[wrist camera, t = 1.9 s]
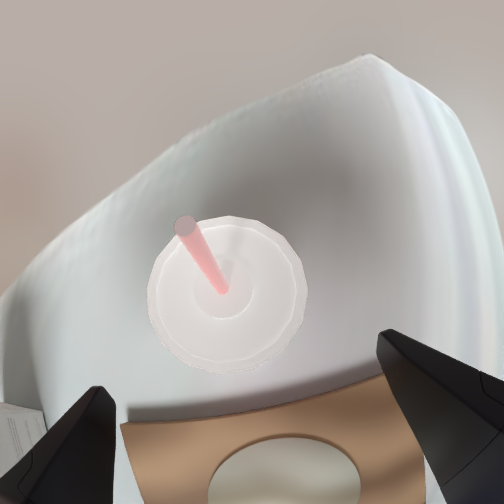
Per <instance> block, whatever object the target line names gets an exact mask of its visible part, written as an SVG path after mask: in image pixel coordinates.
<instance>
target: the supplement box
mask: <svg viewBox="0 0 504 504" xmlns="http://www.w3.org/2000/svg"><path fill="white" fill-rule="evenodd" d="M46 433H47V431H46V426H45V422H44V417H43V412H42V411H39V410H34V409H29V408H25V407H20V406H16V405H12V404H8V403H4V402H0V478H1V477H2V476H3V475H4V474H5V473H6V472H8V471H9V470H10V469H11V468H12V467H13V466H14V465H15V464H16V463H18V462H19V461H20V460H21V459H22V458H23V457H24V456H25V455H26V454H27V453H28V451H29V450H30V449H31V448H33V446H34V445H35V444H36V443H37V442H38V441H39V440H40V439H41V438H42V437H43V436H44V435H45V434H46Z"/></svg>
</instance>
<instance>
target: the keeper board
mask: <svg viewBox="0 0 504 504" xmlns="http://www.w3.org/2000/svg"><path fill="white" fill-rule="evenodd" d="M120 428H121V432H122V436H123V440H124V444H125V447H126V451H127V454H128V457H129V461H130V464H131V467H132V470H133V473H134V476H135V479H136V482H137V485H138V488H139V490H140V493H141V496H142V498H143V501H144V503H145V504H426V490H425V469H424V457H423V451H422V449H421V447H420V445H419V443H418V441H417V439H416V437H415V436H414V434H413V432H412V430H411V428H410V426H409V424H408V422H407V420H406V418H405V416H404V415H403V413H402V411H401V409H400V407H399V405H398V403H397V402H396V400H395V398H394V396H393V394H392V391H391V389H390V387H389V384H388V382H387V379H386V377H385V374H384V373H382V374H379V375H376V376H374V377H371V378H368V379H366V380H363V381H360V382H357V383H354V384H351V385H348V386H345V387H342V388H339V389H336V390H333V391H330V392H326V393H323V394H319V395H316V396H312V397H309V398H305V399H301V400H297V401H293V402H289V403H285V404H281V405H276V406H272V407H267V408H262V409H257V410H252V411H246V412H240V413H234V414H228V415H221V416H213V417H205V418H196V419H185V420H173V421H154V422H126V423H123V424H120Z"/></svg>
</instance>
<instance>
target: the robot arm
mask: <svg viewBox="0 0 504 504" xmlns="http://www.w3.org/2000/svg"><path fill="white" fill-rule="evenodd" d="M376 354H377V358H378V360H379V362H380V365H381V367H382V369H383V372H384V374H385V377H386V379H387V382H388V384H389V387H390V389H391V391H392V394H393V396H394V398H395V400H396V402H397V403H398V405H399V407H400V409H401V411H402V413H403V415H404V416H405V418H406V420H407V422H408V424H409V426H410V428H411V430H412V432H413V434H414V436H415V437H416V439H417V441H418V443H419V445H420V447H421V449H422V451H423V453H424V455H425V457H426V459H427V461H428V463H429V465H430V468H431V470H432V472H433V474H434V476H435V478H436V480H437V482H438V485H439V487H440V489H441V491H442V494H443V496H444V498H445V500H446V503H447V504H504V381H503V380H500V379H498V378H495V377H493V376H491V375H488V374H486V373H484V372H482V371H479V370H478V369H475V368H473V367H471V366H469V365H467V364H465V363H463V362H460V361H458V360H456V359H454V358H452V357H450V356H448V355H446V354H444V353H441V352H439V351H437V350H435V349H433V348H431V347H429V346H427V345H425V344H422V343H420V342H418V341H416V340H414V339H412V338H410V337H408V336H406V335H404V334H402V333H399V332H397V331H395V330H393V329H387V330H384V331H382V332H380V333H379V334H378V341H377V349H376ZM115 449H116V404H115V401H114V400H113V398H112V397H111V396H110V394H109V393H108V392H107V391H106V389H105V388H104V387H103V386H92V387H91V388H90V389H89V390H88V391H87V392H86V393H85V394H84V395H83V396H82V397H81V398H80V399H79V400H78V401H77V402H76V403H75V404H74V405H73V406H72V407H71V408H70V409H69V410H68V411H67V412H66V413H65V414H64V415H63V416H62V417H61V418H60V419H59V420H58V421H57V422H56V423H55V424H54V425H53V426H52V427H51V428H50V429H49V430H48V432H47V433H46V434H45V435H44V436H43V437H42V438H41V439H40V440H39V441H38V442H37V443H36V444H35V445H34V446H33V448H31V449H30V450H29V451H28V453H27V454H26V455H25V456H24V457H23V458H22V459H21V460H20V461H19V462H18V463H16V464H15V465H14V466H13V467H12V468H11V469H10V470H9V471H8V472H6V473H5V474H4V475H3V476H2V477H1V478H0V504H113V480H114V462H115Z"/></svg>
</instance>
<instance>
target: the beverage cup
mask: <svg viewBox="0 0 504 504" xmlns="http://www.w3.org/2000/svg"><path fill="white" fill-rule="evenodd" d="M174 231H175V233H176V234H177V235H175V236H174V237H173V238H172V240H171V241H170V242H169V243H168V245H167V246H166V247H165V248H164V249H163V251H162V252H161V253H160V254H159V256H158V257H157V258H156V260H155V263H154V266H153V269H152V272H151V275H150V278H149V281H148V284H147V301H148V315H149V319H150V321H151V323H152V325H153V327H154V329H155V331H156V333H157V335H158V337H159V339H160V341H161V343H162V344H163V345H164V346H165V347H166V348H167V349H168V350H170V351H171V352H172V353H173V354H174V355H175V356H177V357H178V358H179V359H180V360H182V361H183V362H184V363H185V364H186V365H189V366H192V367H196V368H199V369H202V370H206V371H210V372H213V373H217V374H224V373H232V372H239V371H246V370H252V369H255V368H256V367H258V366H260V365H261V364H263V363H265V362H266V361H268V360H269V359H271V358H273V357H274V356H276V355H277V354H279V353H281V352H282V351H283V350H284V349H285V347H286V346H287V344H288V343H289V342H290V340H291V339H292V337H293V336H294V334H295V333H296V331H297V330H298V328H299V327H300V325H301V324H302V321H303V316H304V311H305V306H306V300H307V295H308V288H307V283H306V279H305V275H304V270H303V266H302V262H301V259H300V258H299V257H298V255H297V254H296V253H295V251H294V250H293V249H292V247H291V246H290V245H289V243H288V242H287V240H286V239H285V238H284V236H283V235H281V234H279V233H278V232H276V231H274V230H273V229H271V228H269V227H268V226H266V225H264V224H263V223H261V222H259V221H258V220H252V219H246V218H240V217H234V216H223V217H218V218H213V219H207V220H202V221H199V222H197V223H196V221H195V219H194V218H193V217H191V216H187V215H186V216H182V217H180V218H179V219H178V220H177V221H176V222H175V224H174Z"/></svg>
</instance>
